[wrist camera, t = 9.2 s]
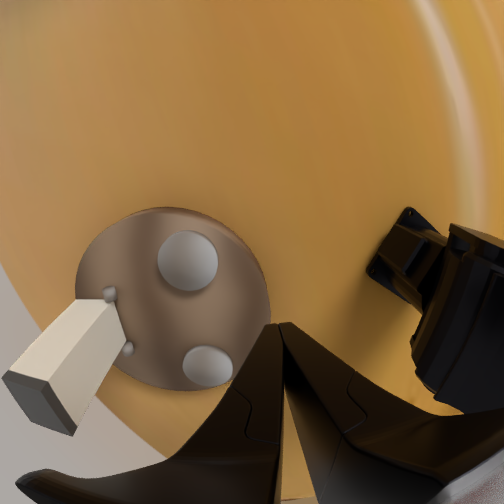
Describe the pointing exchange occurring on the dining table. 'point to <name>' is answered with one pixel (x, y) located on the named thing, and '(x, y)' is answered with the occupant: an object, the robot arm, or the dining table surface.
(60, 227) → the dining table surface
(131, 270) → the stool seat
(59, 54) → the dining table surface
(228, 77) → the dining table surface
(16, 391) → the folding leg
